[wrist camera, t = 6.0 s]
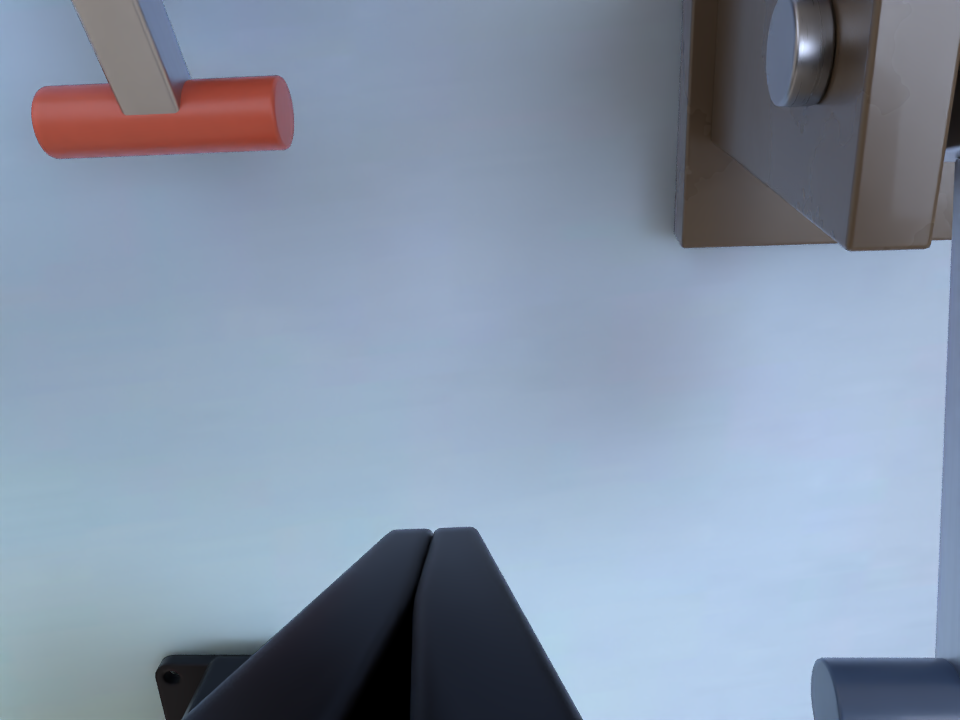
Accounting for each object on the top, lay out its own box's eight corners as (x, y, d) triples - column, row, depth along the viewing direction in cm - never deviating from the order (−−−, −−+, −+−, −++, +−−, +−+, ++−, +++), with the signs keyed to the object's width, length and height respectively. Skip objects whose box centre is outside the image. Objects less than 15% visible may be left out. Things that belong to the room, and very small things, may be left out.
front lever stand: (939, 226, 20) (1278, 418, 11) (673, 235, 20) (786, 426, 11) (1013, -240, 16) (1602, -533, 7) (690, -219, 17) (873, -470, 8)
